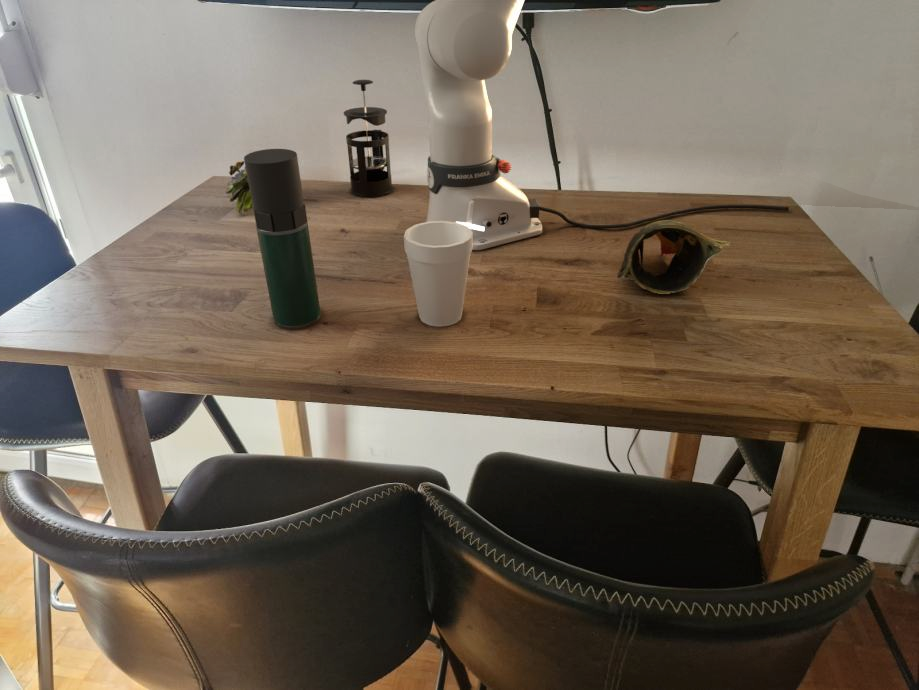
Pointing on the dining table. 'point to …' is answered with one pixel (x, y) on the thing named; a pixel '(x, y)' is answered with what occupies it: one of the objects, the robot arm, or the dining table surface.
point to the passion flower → (240, 188)
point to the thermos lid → (275, 189)
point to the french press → (369, 168)
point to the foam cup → (439, 269)
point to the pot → (674, 240)
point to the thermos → (290, 277)
